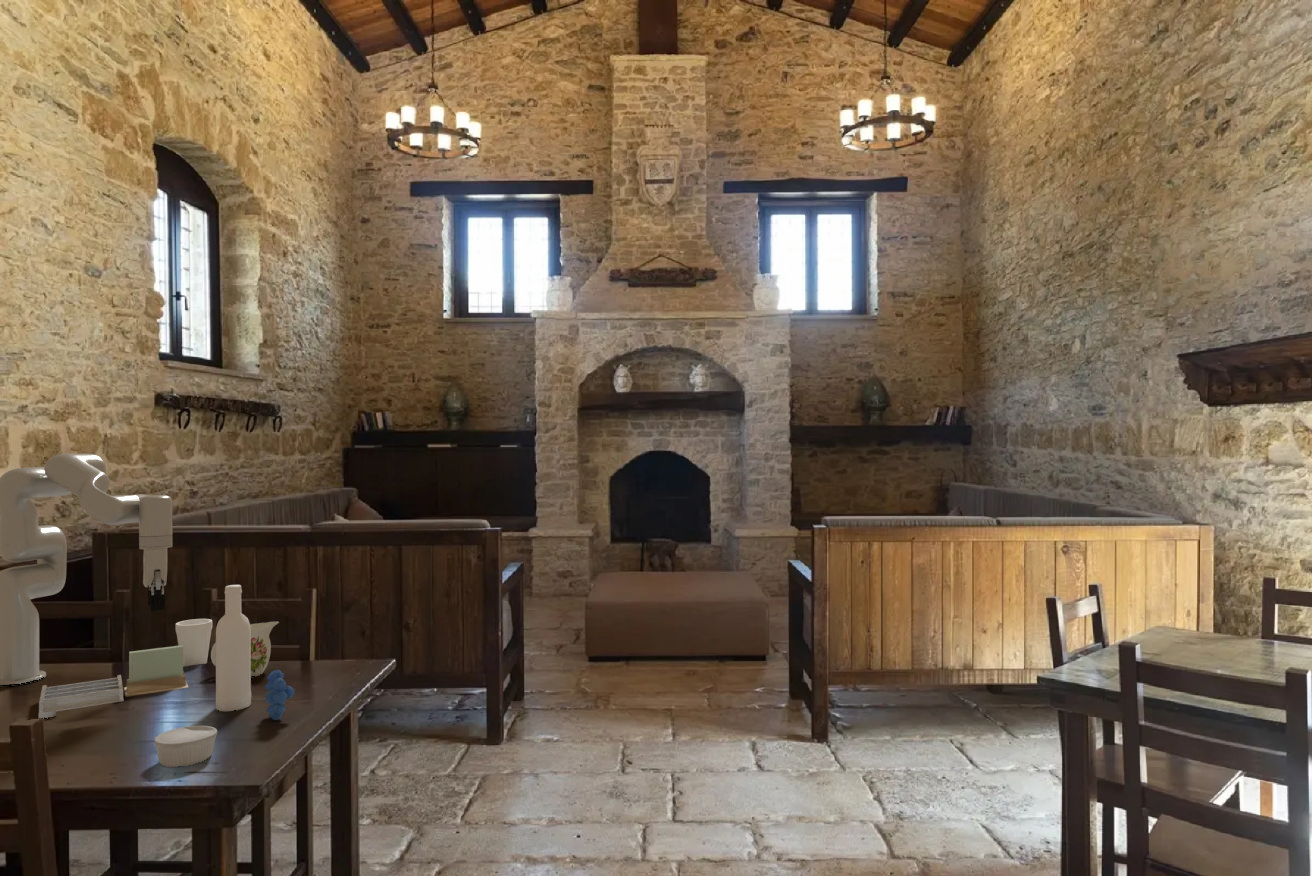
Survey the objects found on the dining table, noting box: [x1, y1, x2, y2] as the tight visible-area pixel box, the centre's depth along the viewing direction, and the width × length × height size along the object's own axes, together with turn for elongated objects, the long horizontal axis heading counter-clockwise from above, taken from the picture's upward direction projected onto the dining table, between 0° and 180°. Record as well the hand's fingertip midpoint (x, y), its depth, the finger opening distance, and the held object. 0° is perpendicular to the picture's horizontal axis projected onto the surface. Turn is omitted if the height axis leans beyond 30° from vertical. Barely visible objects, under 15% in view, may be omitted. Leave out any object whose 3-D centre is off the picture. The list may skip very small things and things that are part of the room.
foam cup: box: [175, 618, 213, 668], centre depth 244 cm, size 10×9×13 cm
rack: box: [38, 674, 125, 720], centre depth 208 cm, size 18×17×4 cm
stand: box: [123, 671, 189, 698], centre depth 217 cm, size 10×14×4 cm
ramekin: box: [153, 725, 218, 768], centre depth 171 cm, size 11×11×5 cm
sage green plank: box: [128, 645, 184, 683], centre depth 217 cm, size 2×12×10 cm, turn 124°
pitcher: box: [210, 621, 280, 677], centre depth 234 cm, size 11×18×14 cm, turn 134°
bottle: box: [215, 584, 252, 712], centre depth 205 cm, size 8×8×30 cm
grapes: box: [264, 669, 296, 721], centre depth 196 cm, size 12×7×12 cm, turn 36°
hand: (156, 607), depth 218 cm, fingers open, 9 cm apart
